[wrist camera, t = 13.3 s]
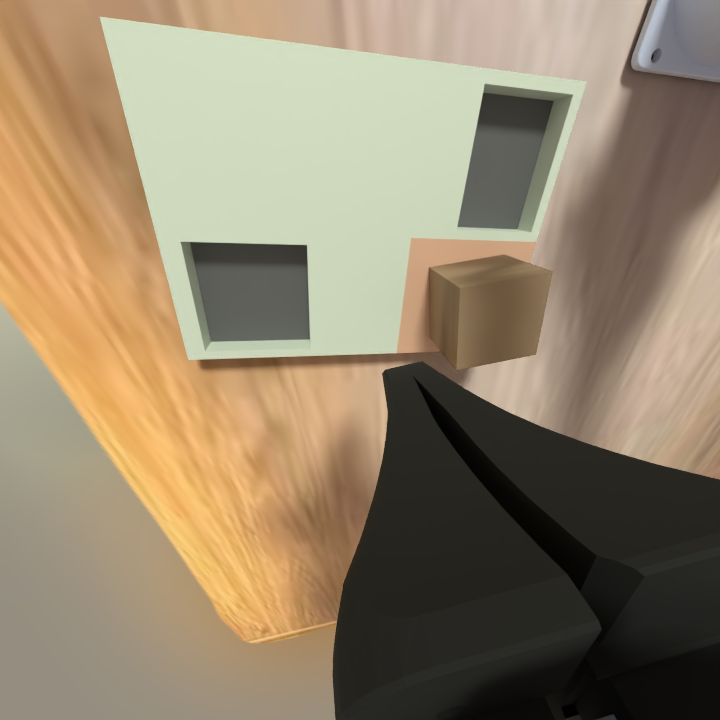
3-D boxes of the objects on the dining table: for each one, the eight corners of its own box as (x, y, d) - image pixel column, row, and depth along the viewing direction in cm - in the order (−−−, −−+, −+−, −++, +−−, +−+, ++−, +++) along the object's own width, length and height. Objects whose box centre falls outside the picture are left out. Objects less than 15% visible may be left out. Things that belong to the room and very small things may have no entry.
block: (504, 254, 18) (552, 271, 14) (495, 325, 20) (535, 354, 17) (429, 267, 17) (460, 288, 14) (429, 337, 20) (456, 370, 16)
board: (563, 90, 15) (587, 81, 14) (490, 340, 22) (502, 349, 21) (121, 34, 12) (99, 16, 11) (196, 347, 19) (188, 360, 18)
